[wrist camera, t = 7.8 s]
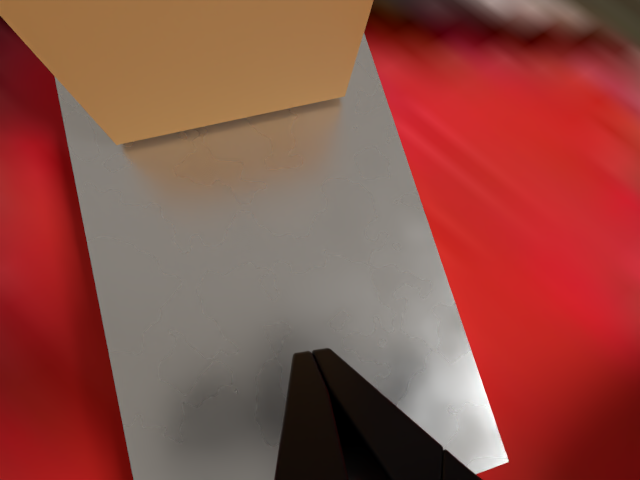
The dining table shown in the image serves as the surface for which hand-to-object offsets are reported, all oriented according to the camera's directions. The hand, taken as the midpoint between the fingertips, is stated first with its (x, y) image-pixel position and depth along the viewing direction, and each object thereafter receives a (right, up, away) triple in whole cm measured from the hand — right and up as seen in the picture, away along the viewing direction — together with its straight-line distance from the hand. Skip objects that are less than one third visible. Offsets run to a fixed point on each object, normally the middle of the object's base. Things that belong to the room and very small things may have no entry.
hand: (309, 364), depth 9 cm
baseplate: (-2, +3, +9) cm, 10 cm away
